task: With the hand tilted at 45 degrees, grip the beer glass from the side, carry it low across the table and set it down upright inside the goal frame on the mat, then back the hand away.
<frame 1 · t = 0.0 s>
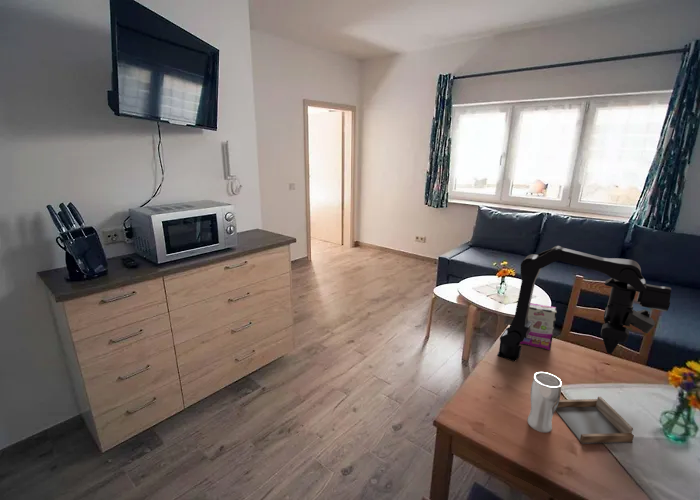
hand: (610, 346, 106), 15 cm above the table, tool pointing down, fingers open, 9 cm apart
goal frame: (589, 423, 95), on the table
candy bar box: (534, 344, 134), on the table
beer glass: (539, 424, 95), on the table
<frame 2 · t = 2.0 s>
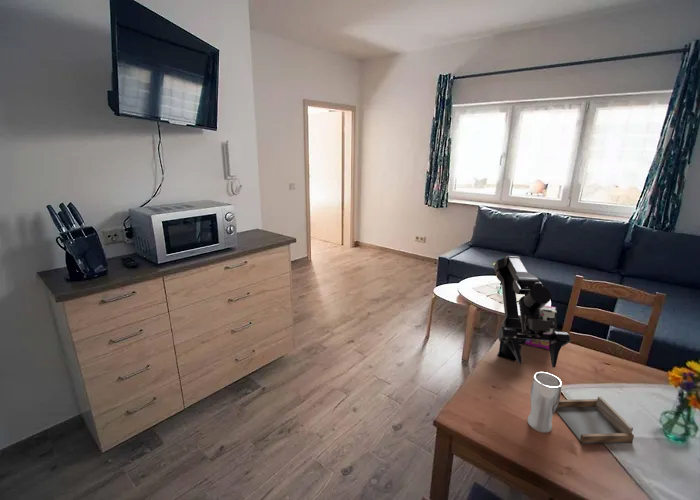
hand: (537, 365, 99), 14 cm above the table, tool tilted 45°, fingers open, 9 cm apart
nothing on the table moved.
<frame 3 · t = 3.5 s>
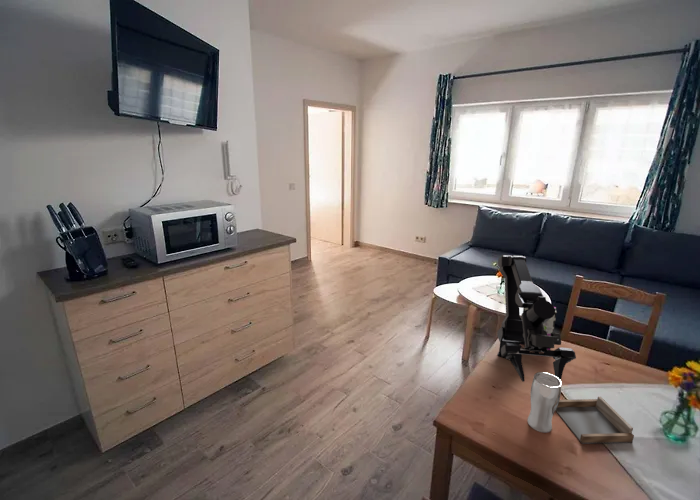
hand: (540, 383, 95), 11 cm above the table, tool tilted 45°, fingers open, 9 cm apart
nothing on the table moved.
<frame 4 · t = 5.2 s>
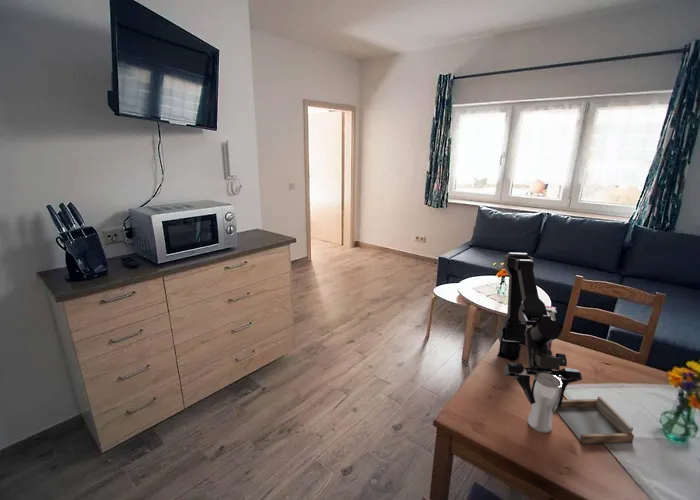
hand: (545, 405, 92), 8 cm above the table, tool tilted 45°, fingers closed on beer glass, 6 cm apart
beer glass: (539, 424, 95), on the table, touching gripper
everything else where it was.
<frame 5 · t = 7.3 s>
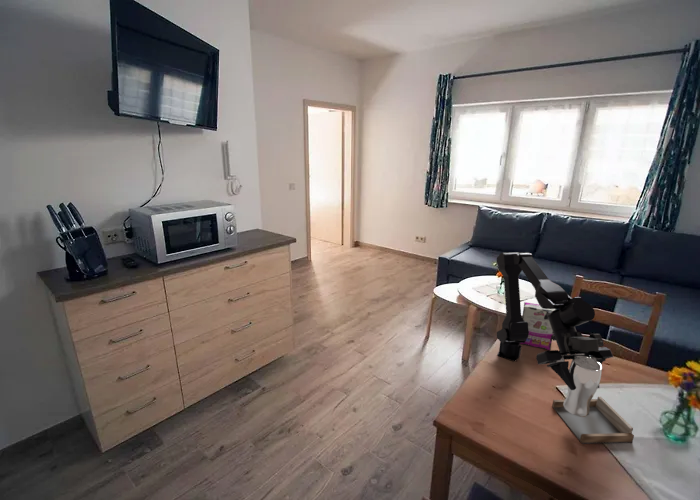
hand: (585, 389, 90), 13 cm above the table, tool tilted 45°, fingers closed on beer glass, 6 cm apart
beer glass: (575, 409, 93), point 5 cm above the table, touching gripper
everything else where it was.
when the fingers open (9 cm above the table, at t = 9.4 s): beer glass stays where it is, resting on goal frame.
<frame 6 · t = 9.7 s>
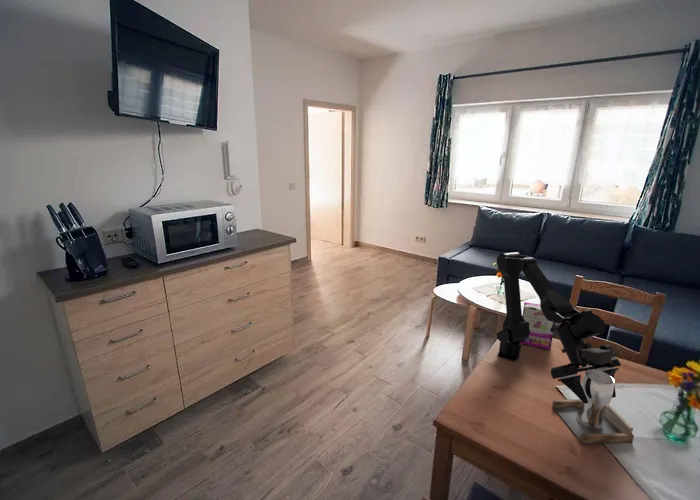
hand: (600, 400, 91), 9 cm above the table, tool tilted 45°, fingers open, 9 cm apart
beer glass: (588, 422, 95), resting on goal frame
everything else where it was.
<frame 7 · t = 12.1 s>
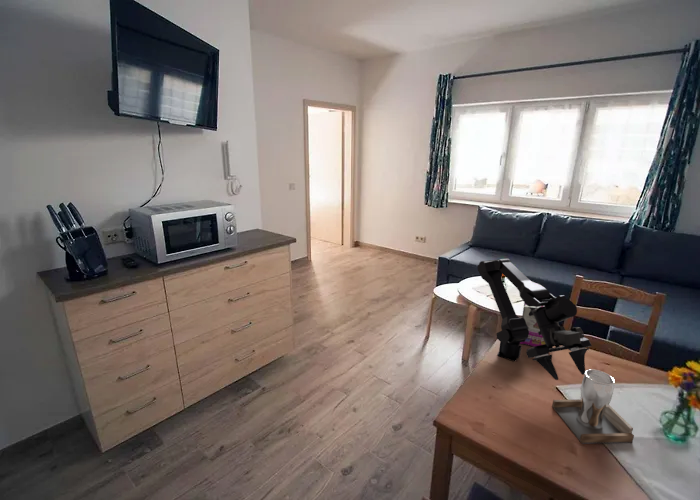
hand: (570, 377, 101), 9 cm above the table, tool tilted 45°, fingers open, 9 cm apart
nothing on the table moved.
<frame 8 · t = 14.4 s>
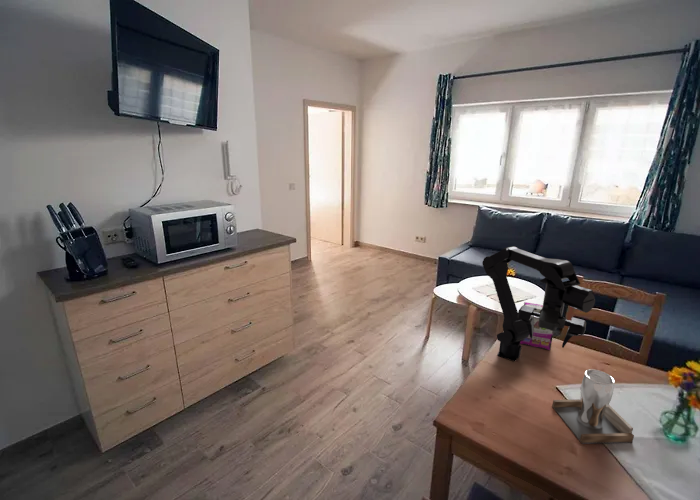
hand: (546, 342, 112), 13 cm above the table, tool pointing down, fingers open, 9 cm apart
nothing on the table moved.
at the end: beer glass 0.3 cm off-centre on the goal frame, point 0.2 cm above the goal frame's base; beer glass tilted 0°; the gripper is holding nothing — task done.
